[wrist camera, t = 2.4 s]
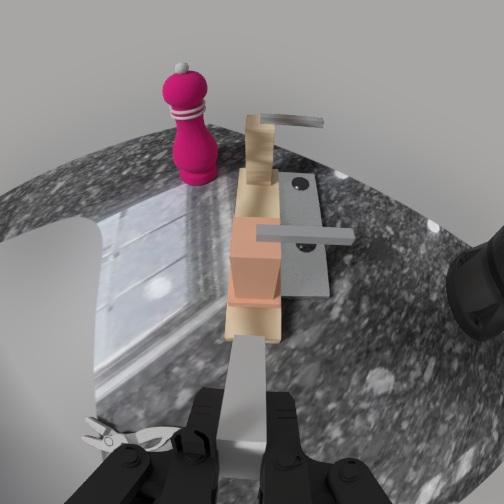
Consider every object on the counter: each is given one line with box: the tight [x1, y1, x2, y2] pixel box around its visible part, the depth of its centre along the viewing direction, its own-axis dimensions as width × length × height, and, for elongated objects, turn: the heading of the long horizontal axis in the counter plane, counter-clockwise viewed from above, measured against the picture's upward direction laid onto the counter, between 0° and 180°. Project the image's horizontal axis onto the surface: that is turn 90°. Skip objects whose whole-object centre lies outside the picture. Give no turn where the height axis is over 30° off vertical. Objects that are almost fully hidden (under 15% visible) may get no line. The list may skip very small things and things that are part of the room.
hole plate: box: [278, 172, 330, 299], centre depth 37 cm, size 6×21×1 cm, turn 178°
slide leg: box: [228, 217, 355, 308], centre depth 26 cm, size 11×5×11 cm, turn 88°
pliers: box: [82, 417, 181, 452], centre depth 22 cm, size 10×2×15 cm
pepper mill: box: [163, 62, 218, 186], centre depth 35 cm, size 7×7×20 cm
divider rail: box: [225, 114, 324, 343], centre depth 31 cm, size 11×26×13 cm, turn 178°
